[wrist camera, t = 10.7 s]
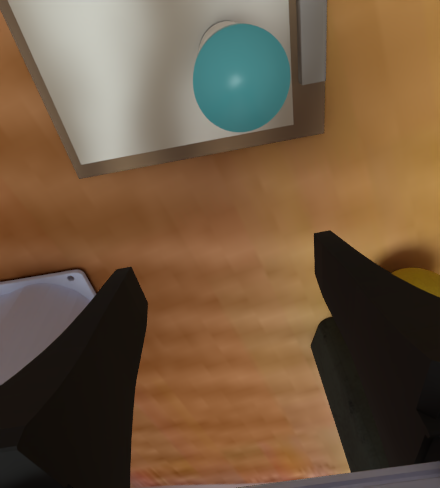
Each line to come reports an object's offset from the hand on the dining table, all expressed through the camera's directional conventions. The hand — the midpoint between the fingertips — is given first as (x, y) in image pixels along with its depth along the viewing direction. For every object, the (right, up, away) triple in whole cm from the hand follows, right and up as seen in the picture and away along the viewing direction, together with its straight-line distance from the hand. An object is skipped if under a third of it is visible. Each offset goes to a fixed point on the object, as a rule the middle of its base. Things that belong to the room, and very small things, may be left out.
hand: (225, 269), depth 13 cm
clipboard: (-3, +11, +4) cm, 12 cm away
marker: (0, +11, +3) cm, 11 cm away
